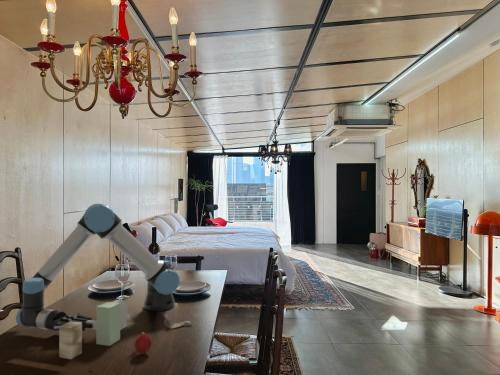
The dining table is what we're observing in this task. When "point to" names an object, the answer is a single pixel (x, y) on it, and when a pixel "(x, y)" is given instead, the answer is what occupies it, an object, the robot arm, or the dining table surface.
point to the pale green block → (107, 323)
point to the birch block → (70, 340)
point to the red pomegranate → (143, 343)
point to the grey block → (122, 313)
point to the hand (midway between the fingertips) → (101, 325)
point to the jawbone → (174, 325)
